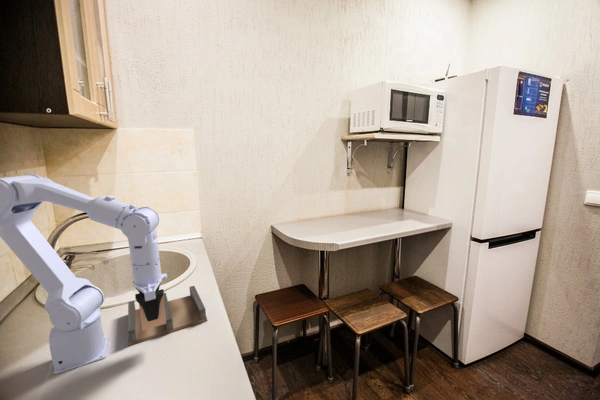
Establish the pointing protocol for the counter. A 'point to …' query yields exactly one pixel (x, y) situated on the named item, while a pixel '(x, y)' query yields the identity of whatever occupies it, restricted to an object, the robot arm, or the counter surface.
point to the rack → (167, 317)
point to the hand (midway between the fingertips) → (152, 314)
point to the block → (153, 323)
